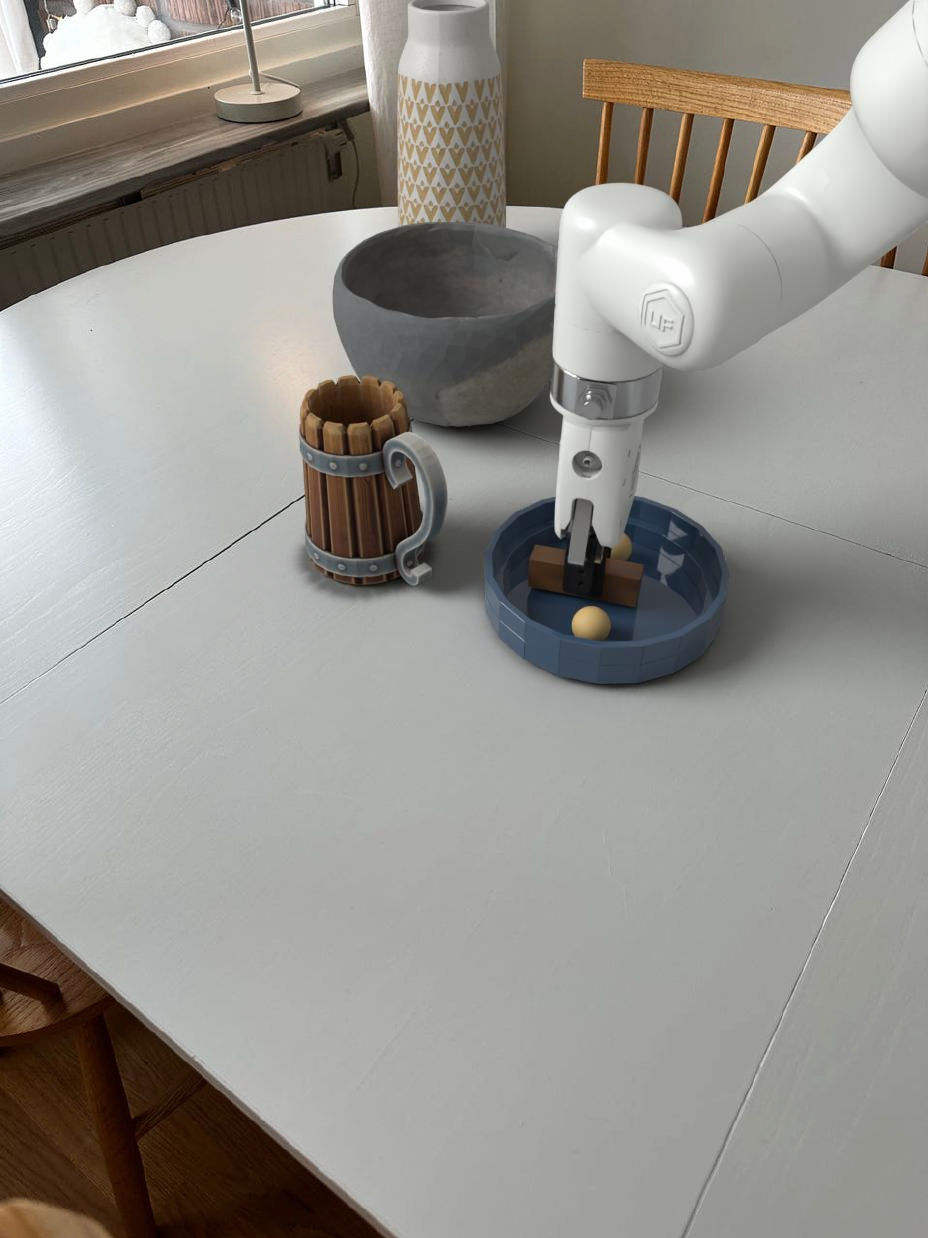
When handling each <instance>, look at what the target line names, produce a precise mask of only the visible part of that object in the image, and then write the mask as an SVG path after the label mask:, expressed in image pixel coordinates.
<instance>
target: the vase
mask: <svg viewBox="0 0 928 1238" xmlns="http://www.w3.org/2000/svg"><path fill="white" fill-rule="evenodd" d="M490 29H491V28H490V3H489V2H488V1H487V0H411V1H409V2H408V4H407V39H406V42H405V44H404V47H403V51H402V52H401V55H400V58H399V62H398V66H397V96H396V97H397V103H396V104H397V108H396V111H397V113H396V119H397V120H396V121H397V122H396V123H397V124H396V125H397V131H396V132H397V139H396V140H397V221H398V222H397V223H398V226H397V227H400V226H403V225H409V224H415V223H424V222H469V223H485V224H492V225H496V226H500V227H505V228H507V190H506V189H507V188H506V185H507V184H506V157H505V156H506V153H505V124H504V122H505V121H504V99H503V98H504V97H503V75H502V73H503V72H502V65H501V62H500V58H499V56H498V53H497V51H496V49H495V48H496V47H495V45H494V43H493V40H492V38H491V34H490V32H491V31H490Z"/></svg>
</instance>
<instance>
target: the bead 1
mask: <svg viewBox="0 0 928 1238" xmlns="http://www.w3.org/2000/svg"><path fill="white" fill-rule="evenodd" d="M610 628H611V623H610V619H609V617H608V615H607V614H606V612H605V611H603V610H602V609H600V608H598V607H594V606H588V607H584V608H582V609H580V610H579V611H578V612H577V613H576V614H575V616H574V618H573V620H572V631H573V633H574V635H575V637H580V638H586V639H591V640H596V641H601V642H602V641H603V640H605V639H606V637H607V636H608V634H609V632H610Z"/></svg>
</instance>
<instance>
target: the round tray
mask: <svg viewBox="0 0 928 1238" xmlns="http://www.w3.org/2000/svg"><path fill="white" fill-rule="evenodd" d="M555 501H556V496H552V497H546V498H543V499H539V500H538V501H535V502H534V503H533V502H532V504H529V505H527V506H525V507H523V508H521V509H519V510H517V511H515V512H513V513H512V514H511V515H510V516H509V517H508V518H507V519H506V520H505V521H503V523H501V524H500V525H499V526H498V527H497V528H496V529H495V530H494V532H493V534H492V536H491V539H490V541H489V542H488V545H487V546H486V550H485V552H484V577H483V578H484V580H483V581H484V584H483V585H484V586H483V587H484V588H483V591H484V605H485V615H486V616H487V618H488V620H489V622H490V624H491V626H492V627H493V629H494V631H495V633H496V636H497V637H498V639H500V641H502V642H503V643H504V644H505V645H506V646H507V647H509V648H510V649H511V650H512V651H513V652H514V653H515V654H516V655H518V656H519V657H520V658H521V659H523V660H524V661H526V662H528V663H530V664H532V665H534V666H537V667H538V668H540V669H543V670H546V671H547V672H549V673H551V674H554V675H556V676H558V677H563V678H567V679H572V680H577V681H581V682H586V683H592V684H596V685H597V684H599V685H606V684H607V685H608V684H609V685H610V684H611V685H612V684H639V683H642V682H647V681H650V680H654V679H657V678H661V677H666V676H668V675H672V674H675V673H676V672H678V671H679V670H681V669H683V668H684V667H686V666H687V665H689V664H691V663H692V662H693V661H695V660H697V659H698V658H700V657H702V655H703V654H704V652H706V650H707V649H708V647H709V646H710V645H711V644H712V642H713V640H715V638H716V636H717V635H718V633H719V630H720V626H721V621H722V617H723V613H724V608H725V605H726V604H725V603H726V600H727V596H728V595H727V594H728V589H729V582H730V575H731V571H730V567H729V564H728V563H727V559H726V557H725V554H724V550H723V548H722V546H721V545H720V544H719V543H718V541H716V539H715V538H714V537H713V536H712V535H711V534H710V532H708V530H707V529H706V528H705V526H704V525H702V524H700V523H698V522H697V521H696V520H695V519H692V518H691V517H689V516H688V515H686V514H685V513H683V512H681V511H680V510H679V509H677V508H674V507H671V506H668V505H666V504H663V503H661V502H658V501H655V500H653V499H649V498H646V497H644V496H638V495H635V496H634V499H633V503H632V507H631V510H630V513H629V517H628V520H627V523H626V527H625V530H624V533H625V534H626V535H627V536H628V537H629V538H630V540H631V543H632V552H631V555H630V557H629V558H628V560H627V562H633V563H638V564H643V565H644V571H643V577H642V583H641V589H640V594H639V598H638V602H637V606H636V607H631V606H625V605H620V604H615V603H610V602H605V601H600V600H595V599H590V598H585V597H579V596H574V595H569V594H564V593H559V592H554V591H549V590H544V589H538V588H533V587H529V586H528V575H529V559H530V556H531V554H532V551H533V549H534V546H535V545H541V546H547V547H552V548H557V549H563V550H566V547H567V534H568V531H567V533H566V536H565V537H563V538H562V539H560V538H559V537H558V536H557V534H556V533H555ZM588 606H594V607H598V608H600V609H602V610H603V611H605V612H606V614H607V615H608V617H609V619H610V623H611V628H610V632H609V634H608V636H607V637H606V639H605V640H603V641H602V642H601V641H596V640H591V639H586V638H580V637H575V635H574V633H573V631H572V620H573V618H574V616H575V614H576V613H577V612H578V611H579V610H580V609H582V608H584V607H588Z"/></svg>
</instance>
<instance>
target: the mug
mask: <svg viewBox="0 0 928 1238" xmlns="http://www.w3.org/2000/svg"><path fill="white" fill-rule="evenodd" d="M299 407H300V408H299V421H300V423H299V426H298V427H299V428H298V440H299V441H298V442H299V452H300V455H301V458H302V471H303V472H302V474H303V487H304V489H303V490H304V504H305V517H306V518H305V522H304V540H305V541H304V542H305V548H306V551H307V554H308V557H309V561H311V562H312V563H313V567H314V568H316V570H317V571H318V572H320V573H321V574H323V575H324V576H325V577H328V578H330V579H332V580H334V581H337V582H341V583H344V584H347V585H348V584H349V585H358V586H364V585H365V586H367V585H377V584H381V583H387V582H390V581H392V580H395V579H397V578H399V577H401V578H403V580H404V581H405V582H406V583H408V584H409V585H410V586H417V585H418V584H420V583H423V582H424V581H425V580H427V579H429V578H431V577H432V575H433V568H432V567H431V566H430V565H428V564H427V563H425V562H423V563H421V564H420V563H419V562H420V560H421V559H422V558H423V556H424V554H425V551H426V550H425V546H426V543H427V542H429V541H431V540H432V539H434V538H435V537H436V536H437V535H439V534H440V533H441V530H442V529H443V527H444V525H445V522H446V518H447V510H448V501H449V498H448V496H449V495H448V494H449V493H448V485H447V480H446V476H445V472H444V469H443V466H442V465H441V462H440V459H439V458H438V456H437V454H436V452H435V450H434V449H433V448H432V447H431V445H430V444H429V443H428V442H427V441H426V440H425V438H423V437H421V436H420V435H419V434H417V433H414V432H413V427H412V419H410V417H409V416H408V411H407V404H406V399H405V398H404V396H403V394H402V392H400V391H399V390H398V389H397V387H396V386H395V384H393V383H391V382H389V381H383V382H382V383H381V381H380V380H379V379H378V378H377V377H374V376H363V377H362V379H361V381H360V379H359V378H358V376H357V375H353V374H350V375H342V376H340V377H338V379H337V381H336V383H335V381H334V380H333V379H325V380H323V381H321V382H319V383H318V384H317V387H316V388H311V389H308V390H307V392H306V393H305V394H304V396H303V399H302V401H301V405H300V406H299ZM416 471H417V472H416ZM417 473H418V476H419V479H420V481H421V484H422V485H421V486H422V488H423V489H422V490H423V498H424V499H423V500H424V502H423V503H424V504H423V511H422V508H421V500H420V493H419V492H420V491H419V485H418V478H417Z"/></svg>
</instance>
